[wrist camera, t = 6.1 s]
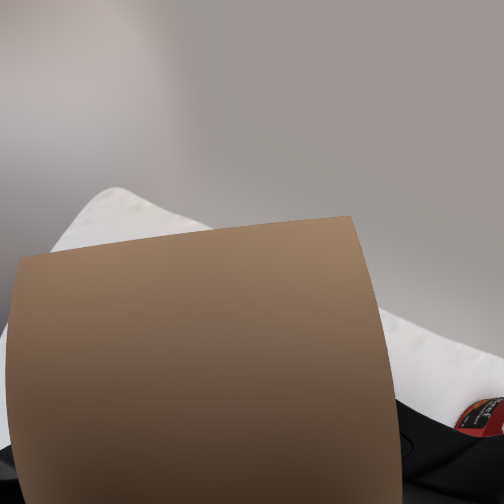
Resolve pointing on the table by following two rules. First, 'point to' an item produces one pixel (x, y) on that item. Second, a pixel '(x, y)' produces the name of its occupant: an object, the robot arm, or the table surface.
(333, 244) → the walnut post
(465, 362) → the table surface
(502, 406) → the canned food
